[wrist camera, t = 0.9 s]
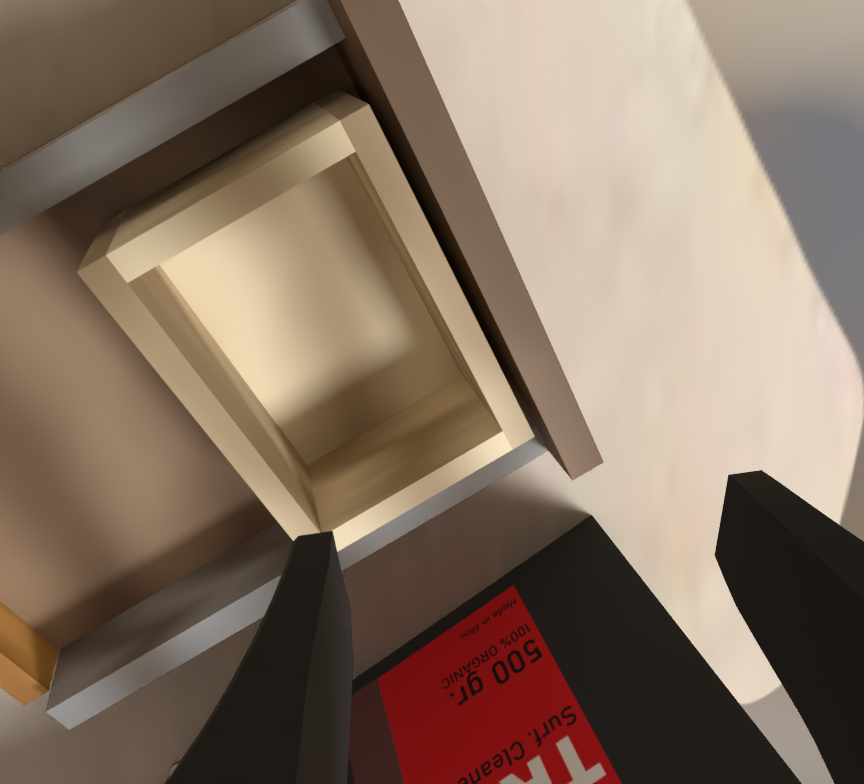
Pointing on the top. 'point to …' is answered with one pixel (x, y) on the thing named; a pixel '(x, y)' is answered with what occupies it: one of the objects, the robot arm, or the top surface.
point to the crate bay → (153, 399)
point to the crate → (311, 323)
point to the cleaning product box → (555, 688)
